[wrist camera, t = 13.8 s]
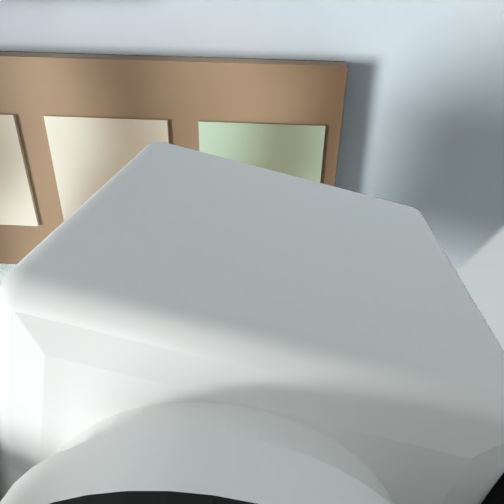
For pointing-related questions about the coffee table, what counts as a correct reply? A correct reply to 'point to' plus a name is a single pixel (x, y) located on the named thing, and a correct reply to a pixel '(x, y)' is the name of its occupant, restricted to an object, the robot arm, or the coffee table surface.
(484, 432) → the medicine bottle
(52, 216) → the board
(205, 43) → the coffee table surface
